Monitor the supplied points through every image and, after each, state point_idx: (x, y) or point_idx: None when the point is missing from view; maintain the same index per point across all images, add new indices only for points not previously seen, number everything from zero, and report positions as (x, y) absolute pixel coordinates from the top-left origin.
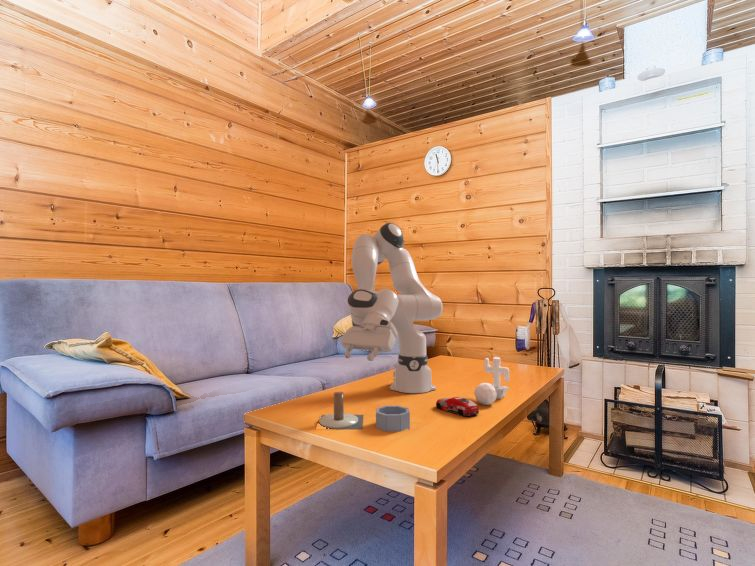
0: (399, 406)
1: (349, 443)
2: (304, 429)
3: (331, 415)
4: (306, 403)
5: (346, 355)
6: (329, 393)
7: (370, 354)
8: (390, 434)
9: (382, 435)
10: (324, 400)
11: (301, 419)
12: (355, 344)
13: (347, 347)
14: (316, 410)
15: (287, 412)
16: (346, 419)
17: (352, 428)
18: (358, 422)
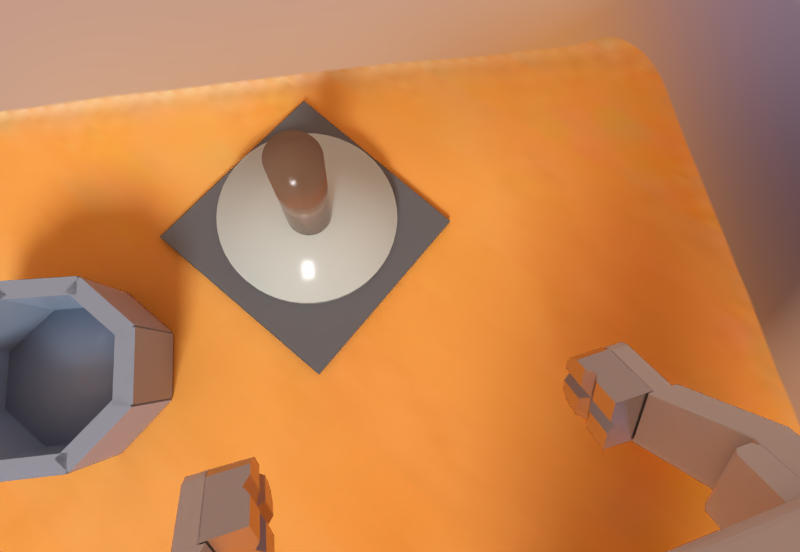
0: (47, 464)
1: (91, 113)
2: (346, 87)
3: (375, 221)
4: (663, 286)
5: (592, 351)
6: None
7: (207, 525)
8: None
9: (47, 261)
10: None
11: (462, 143)
12: (680, 549)
13: (744, 431)
14: (536, 258)
15: (582, 153)
16: (278, 235)
17: (199, 210)
18: (242, 279)
